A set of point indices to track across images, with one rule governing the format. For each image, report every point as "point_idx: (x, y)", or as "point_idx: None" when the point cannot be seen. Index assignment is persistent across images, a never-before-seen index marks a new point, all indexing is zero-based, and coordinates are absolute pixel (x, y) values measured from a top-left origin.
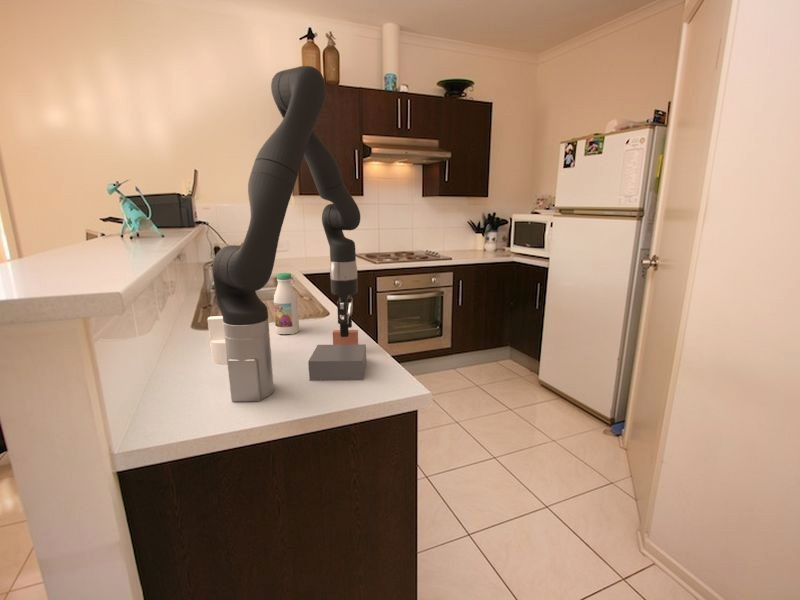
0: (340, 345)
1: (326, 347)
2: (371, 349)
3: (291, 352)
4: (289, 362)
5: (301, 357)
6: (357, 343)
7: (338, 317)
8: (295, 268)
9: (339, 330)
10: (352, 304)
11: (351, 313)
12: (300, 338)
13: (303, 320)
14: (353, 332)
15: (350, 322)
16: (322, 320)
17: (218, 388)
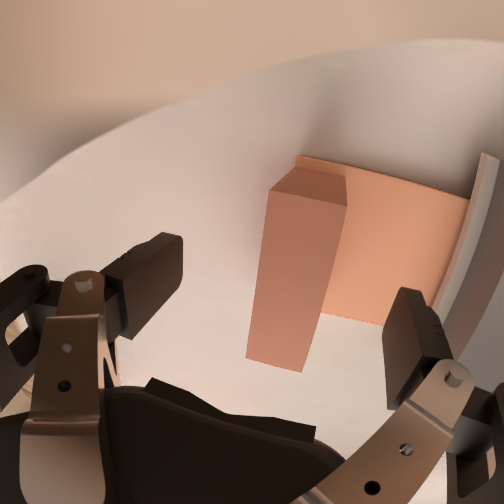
0: (490, 328)
1: (476, 386)
2: (298, 88)
3: (272, 413)
4: (367, 423)
5: (333, 398)
6: (339, 183)
7: (482, 484)
8: None
9: (264, 331)
10: (39, 358)
11: (103, 288)
12: (136, 368)
13: (19, 322)
14: (338, 237)
15: (161, 258)
16: (5, 277)
17: (442, 485)
